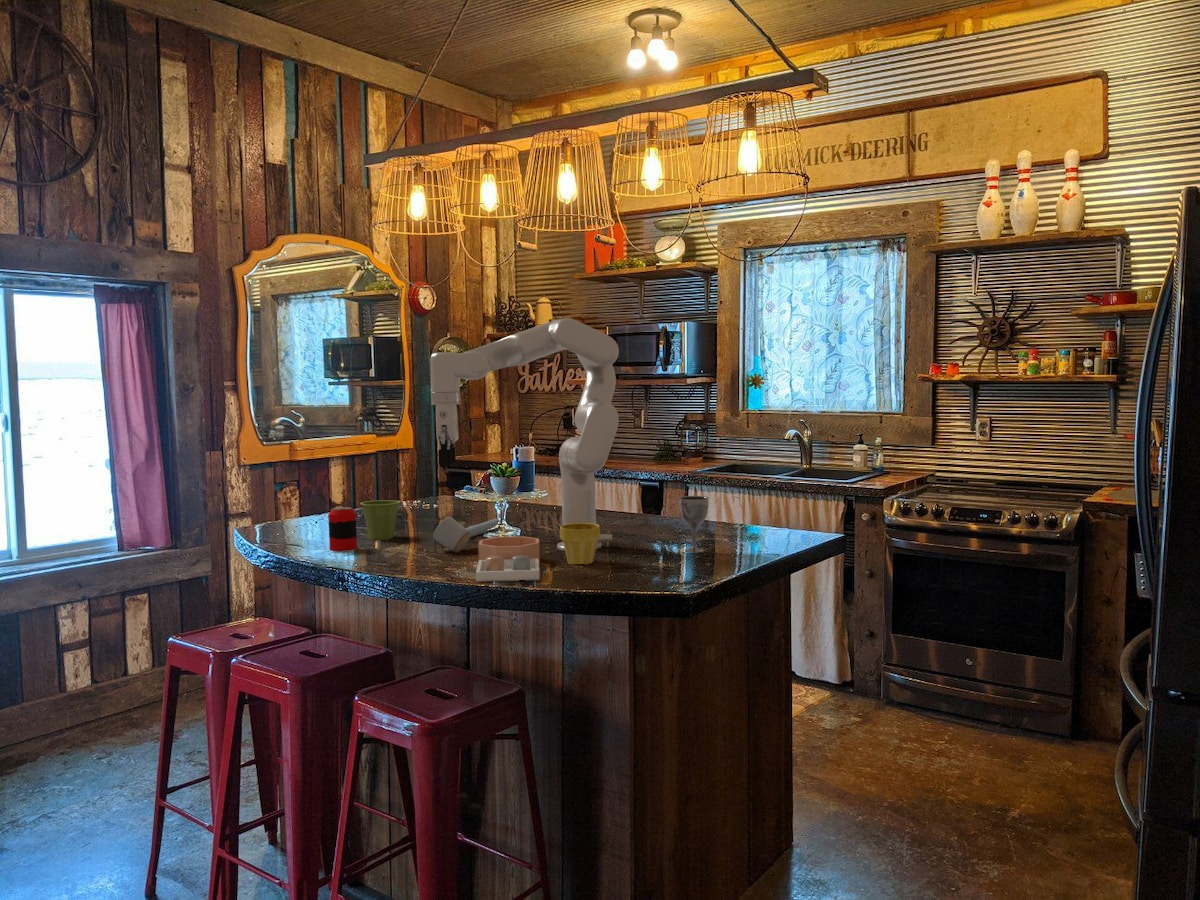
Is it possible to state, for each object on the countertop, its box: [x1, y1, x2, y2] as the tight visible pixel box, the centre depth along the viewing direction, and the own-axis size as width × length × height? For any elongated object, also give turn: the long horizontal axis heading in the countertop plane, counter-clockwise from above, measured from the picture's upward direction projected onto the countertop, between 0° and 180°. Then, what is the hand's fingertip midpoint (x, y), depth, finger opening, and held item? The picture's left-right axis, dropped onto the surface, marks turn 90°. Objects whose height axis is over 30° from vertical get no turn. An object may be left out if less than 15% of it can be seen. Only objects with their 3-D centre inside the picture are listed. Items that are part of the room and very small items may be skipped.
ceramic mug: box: [432, 516, 471, 553], centre depth 264 cm, size 11×8×8 cm
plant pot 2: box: [559, 523, 601, 565], centre depth 245 cm, size 10×10×10 cm
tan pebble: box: [486, 556, 504, 571], centre depth 231 cm, size 4×4×4 cm
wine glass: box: [678, 495, 710, 553], centre depth 258 cm, size 8×8×15 cm
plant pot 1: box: [359, 499, 401, 541], centre depth 286 cm, size 12×12×11 cm
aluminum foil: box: [464, 518, 500, 538], centre depth 295 cm, size 23×7×3 cm, turn 159°
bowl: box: [477, 535, 541, 564], centre depth 247 cm, size 16×16×6 cm
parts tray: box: [475, 559, 540, 583], centre depth 231 cm, size 15×15×2 cm
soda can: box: [328, 506, 358, 552], centre depth 268 cm, size 8×8×12 cm
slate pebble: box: [512, 555, 530, 571], centre depth 231 cm, size 4×4×4 cm
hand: (447, 463), depth 251 cm, fingers open, 9 cm apart
